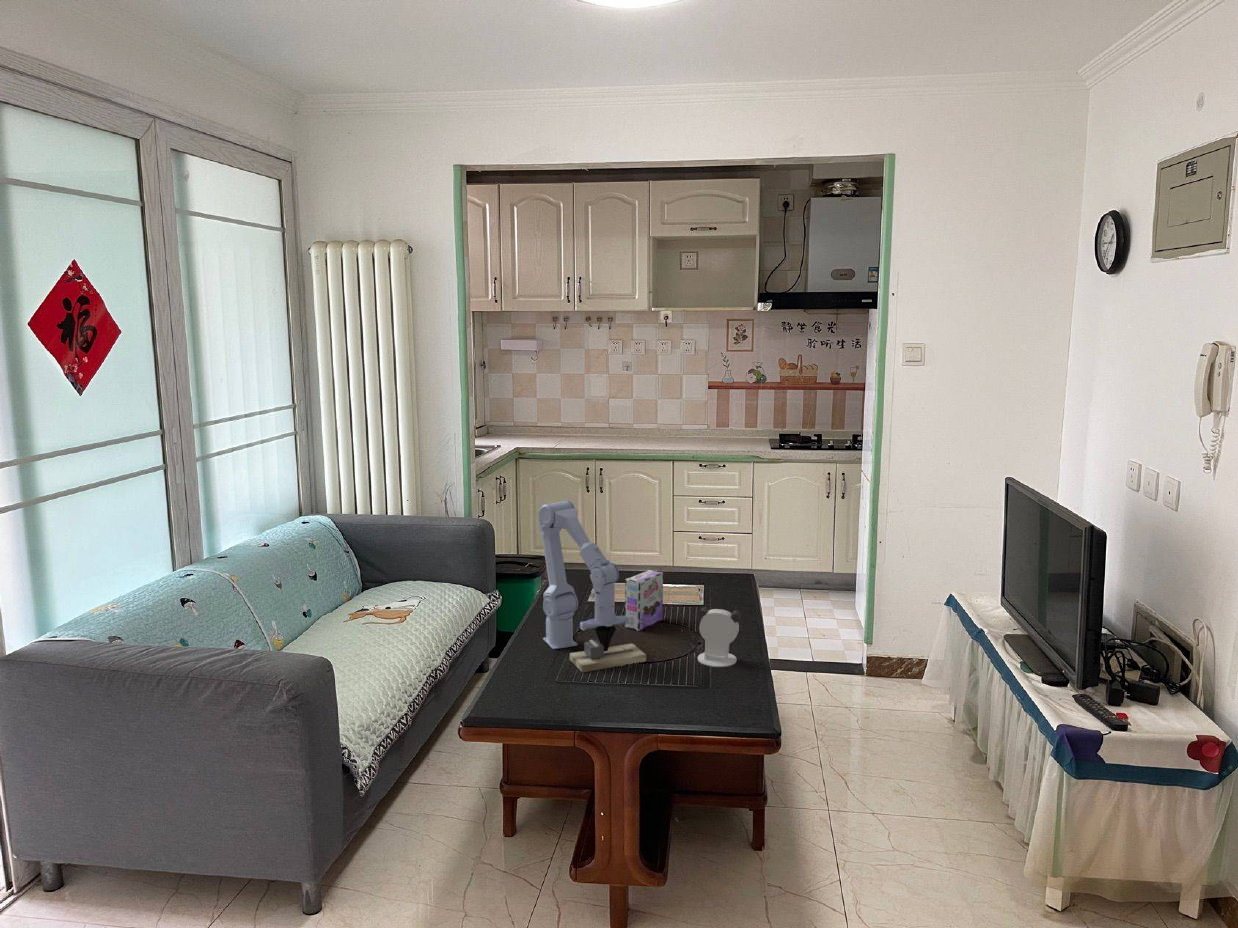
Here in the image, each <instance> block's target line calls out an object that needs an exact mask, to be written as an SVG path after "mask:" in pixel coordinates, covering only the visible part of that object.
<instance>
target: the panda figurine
mask: <svg viewBox="0 0 1238 928" xmlns="http://www.w3.org/2000/svg"><path fill="white" fill-rule="evenodd" d="M698 615H699V617H700V618H701V619H700V623H699V634H700V635H701V637H702V639H704V652H702V653H700V654H698V656H697V661H698V662H699V663H700V664H702V665H704V666H708V667H713V668H726V667H732V666H733V665H735V664H736V663H737V660H738V659H737V657H736V656H735V655H734V654H732V653H729V652H730V647H731V646H732V645H733V642H734V640H735V639H736V638H737V636H738V634H739V631H740V625H739V621H740V620H741V617H742V616H741V612H740V611H739V610H736V609H735V610H733V611H732V612H731V611H728V610H725V609H722V608H720V609H719V608H713V609H708V607H706V606H704V607H701V609H700V611H699V613H698Z"/></svg>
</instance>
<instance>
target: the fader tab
mask: <svg viewBox="0 0 1238 928" xmlns="http://www.w3.org/2000/svg"><path fill="white" fill-rule="evenodd" d="M583 647H584V650H583V651H584V653H585V654H586V655H587V656H588V657H590V658H591V659H593V658H599V657H604V646H603V645H602V644H601V643H600V641H599V640H598V639H596V640H593V639H590V640H589V641H585V642H584V645H583Z"/></svg>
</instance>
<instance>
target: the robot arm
mask: <svg viewBox="0 0 1238 928" xmlns="http://www.w3.org/2000/svg"><path fill="white" fill-rule="evenodd" d="M537 515H538V516H537V517H538V522H539V528H540V534H541V540H542V546H543V553H544V559H545V565H546V572H547V578H548V587H547V588H546V590H545V591H543V594H542V595H543V602H542V609H543V613H544V614H545V615H546V619H545V637H542V640H543V641H544V642H545V643H546V644H547V645H548V646H549V647H550V648H551V649H552V650H557V649H563V648H564V649H565V648H570V647H577V646H578V643H577V642H576V641H574V640H573V639H574V638H573V637H574V636H573V632H574V631H573V630H574V629H573V627H574V626H573V624H574V623H573V620H574V619H573V618H574V617H573V616H575V612H576V611H577V610H578V607H579V600H578V597H577V595H576V592H575V588H574V587H573V586H572V585H570V584H569V583H568V581H567V577H566V576H567V575H566V569H565V563H564V556H563V549H562V543H561V536H560V532H561V531H562V529H563V530H566V531H567V532H568V535H570V537H571V538H572V539H573V540H574V542H575V543H576V544H577V546H578V547H579V548H580V549H579V556H580V557H581V559H582V560H583V563H585V565H586V566H587V568H588V570H589V571H590V574H589V577H590V581H591V583H592V589H593V592H594V618H591V619H587V620H585V621H580V622H579V628H580V630H581V631H586V630H590V629H594V631H595V633H596V635H597V638H598V641H599V642H600V643H601V644H602V645H603V646H604V651H608V648H609V647H610V644H611V641H612V638H613V636H614V634H615V632H616V630H617V629H616V626H617V625H623V624H624V625H625V624H629V617H627V616H626V615H625V614H624V615H615V614H616V613H615V609H616V608H615V607H616V606H615V600H616V599H615V597H616V595H615V594H616V593H615V590H616V589H615V586H616V585H615V582H618V580H619V578H620V573H619V569H618V567H617V565H616V563H614V562H612V561H610V559H607V558H606V556H605V555H604V553H603V552H602V550H601V549H600V547H599V545H598V544H597V543H595V542H593V541H592V542H591V541H590V539H589V537H588V535H587V534H586V532H585V530H584V528H583V526H582V524H581V522H580V521H579V519H578V510H577V508H576V507H575V504H574V503H573V502H572V501H571V500H569V499H565V500H563V501H558V502H557V501H556V502H553V503H546V504H545V503H543V504H542V505H541V507H540V508H539V510H538V512H537Z"/></svg>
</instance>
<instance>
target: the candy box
mask: <svg viewBox="0 0 1238 928" xmlns="http://www.w3.org/2000/svg"><path fill="white" fill-rule="evenodd" d="M624 581H625V585H624V586H625V587H624V588H625V590H624V595H625V596H624V599H625V600H624V616H625V615H626V616H627V617H629V624H625V623H624V628H627V629H629V630H630V629H631V630H634V631H638V632H639V631H641V630H643V629H646V628H648V627H650V626H652V625H655V624H657V623H659V622H661V621H662V620H663V616H664V615H663V612H664V606H663V603H664V601H663V600H664V595H663V593H664V572H659V571H656V570H650V569H647V570H646V571H644V572H642V573H638V574H636V575H632V576H631V577H628V578H625V580H624Z"/></svg>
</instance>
